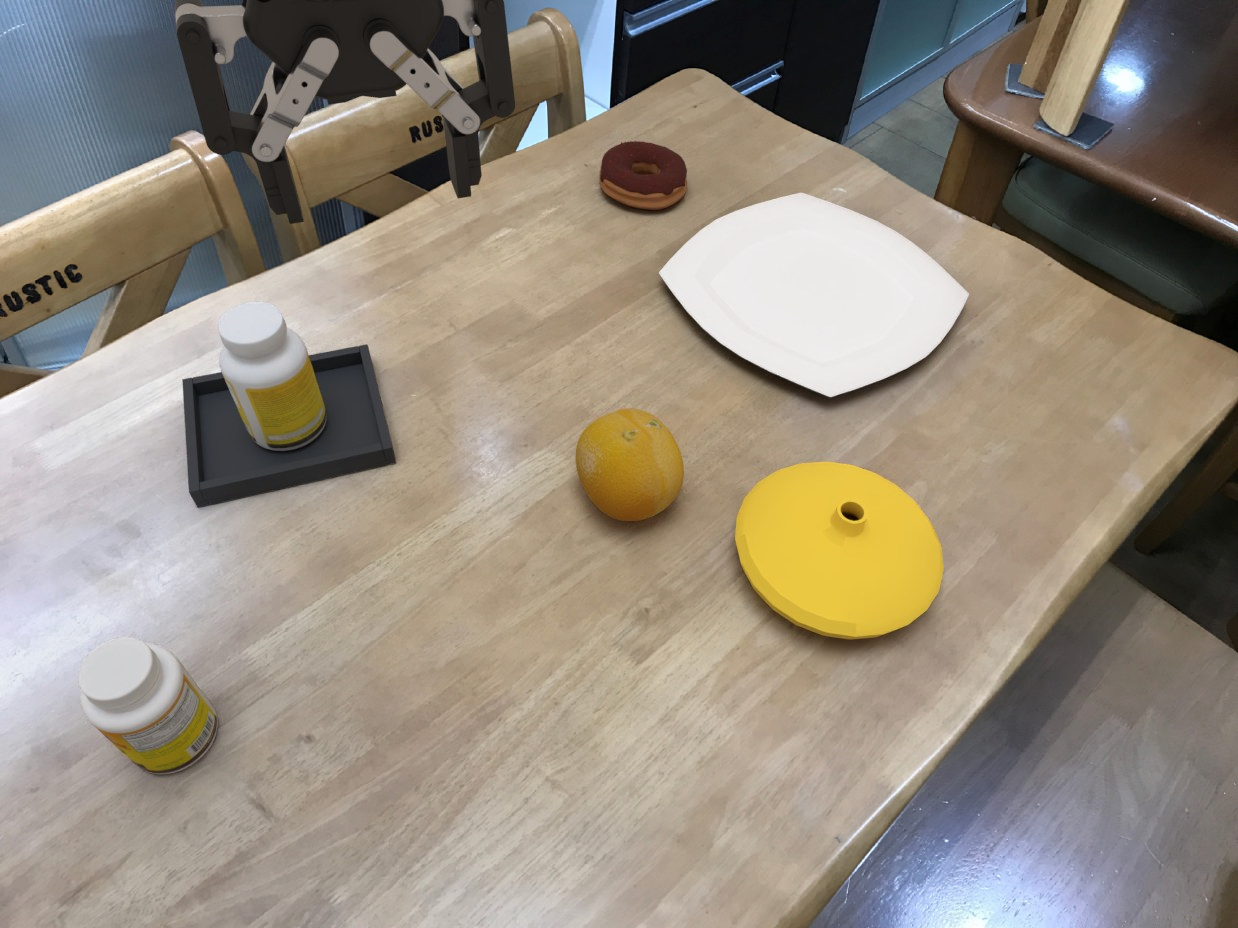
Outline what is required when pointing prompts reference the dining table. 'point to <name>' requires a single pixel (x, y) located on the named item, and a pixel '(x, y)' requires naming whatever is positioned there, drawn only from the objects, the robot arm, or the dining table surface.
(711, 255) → the plate
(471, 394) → the dining table surface
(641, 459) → the fruit
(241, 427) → the holder
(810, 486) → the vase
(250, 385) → the pill bottle
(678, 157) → the donut
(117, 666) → the supplement bottle
